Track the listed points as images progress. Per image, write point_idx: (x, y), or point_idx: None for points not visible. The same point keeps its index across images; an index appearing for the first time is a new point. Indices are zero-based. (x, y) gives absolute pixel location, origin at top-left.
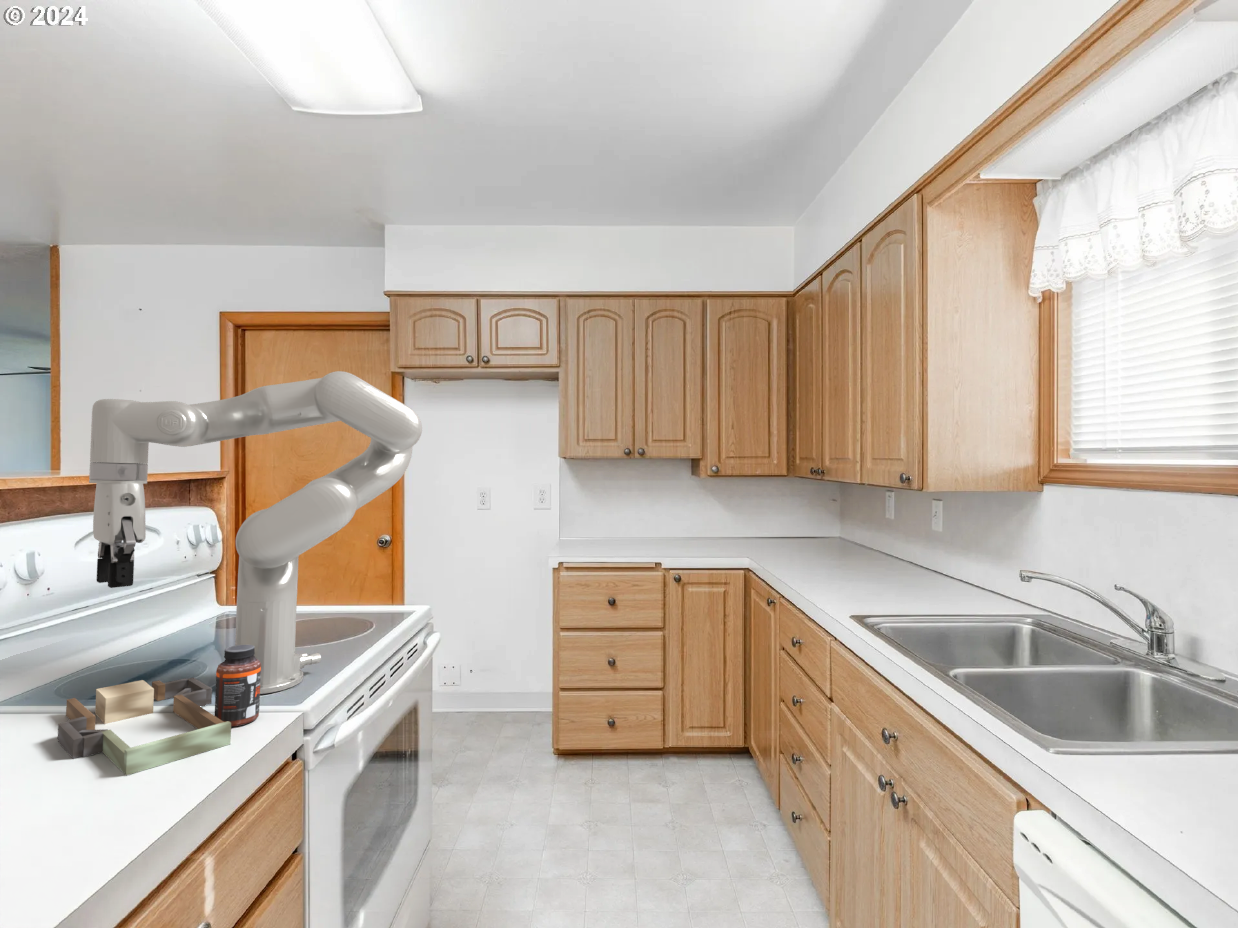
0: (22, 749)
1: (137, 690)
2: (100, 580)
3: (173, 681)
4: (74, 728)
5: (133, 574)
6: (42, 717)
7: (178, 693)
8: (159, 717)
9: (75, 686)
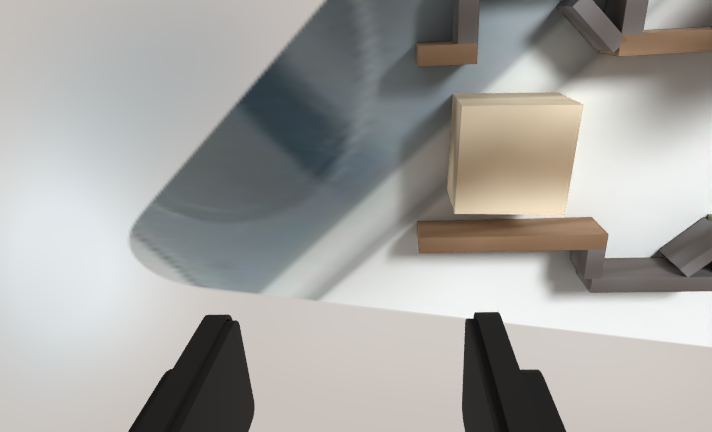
0: (563, 315)
1: (558, 142)
2: (250, 411)
3: (466, 15)
4: (653, 277)
5: (515, 359)
6: (391, 266)
7: (605, 38)
8: (610, 89)
9: (187, 181)
